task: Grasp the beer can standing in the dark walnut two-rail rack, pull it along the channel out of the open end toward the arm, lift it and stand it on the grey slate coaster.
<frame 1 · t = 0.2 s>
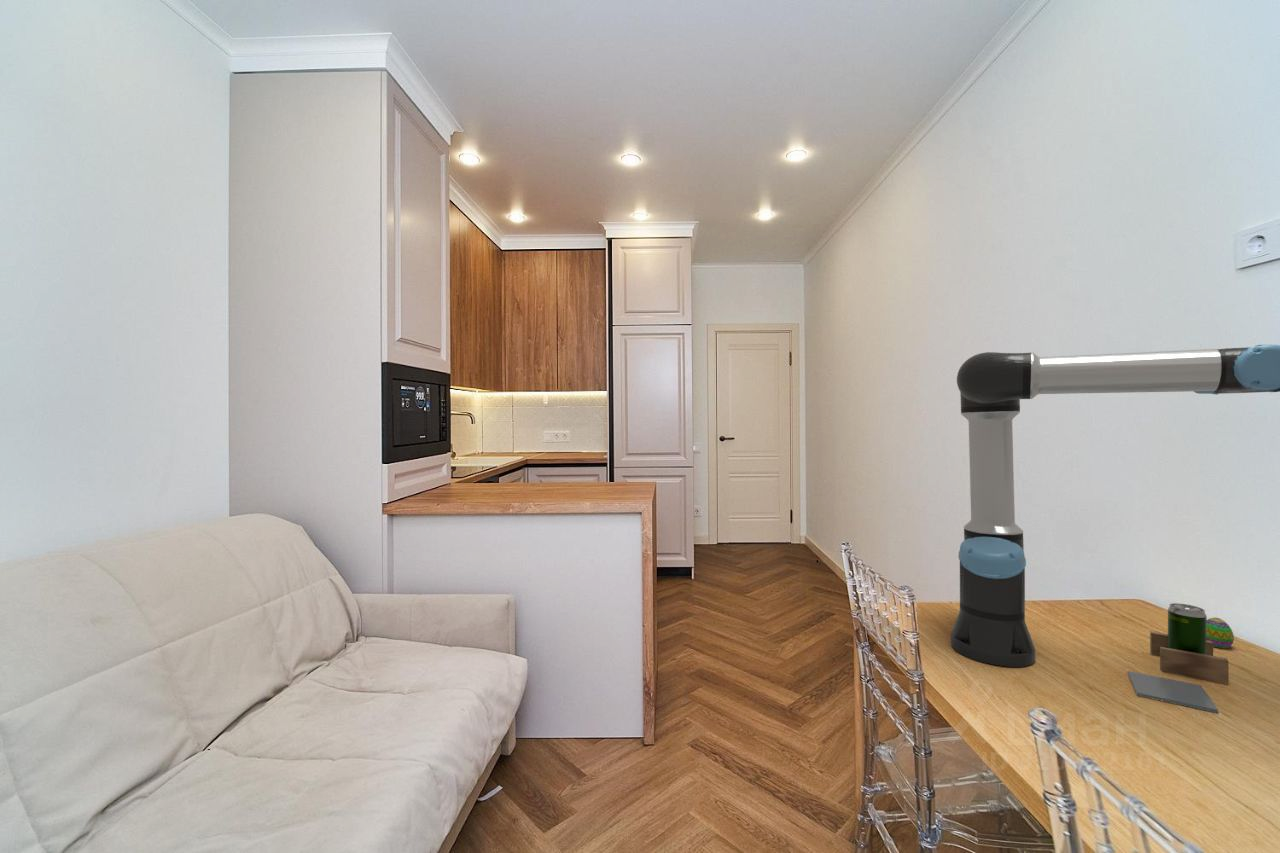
rack: (1186, 667, 105), on the table
beer can: (1186, 668, 105), on the table
egg: (1216, 646, 115), on the table
coaster: (1169, 692, 95), on the table
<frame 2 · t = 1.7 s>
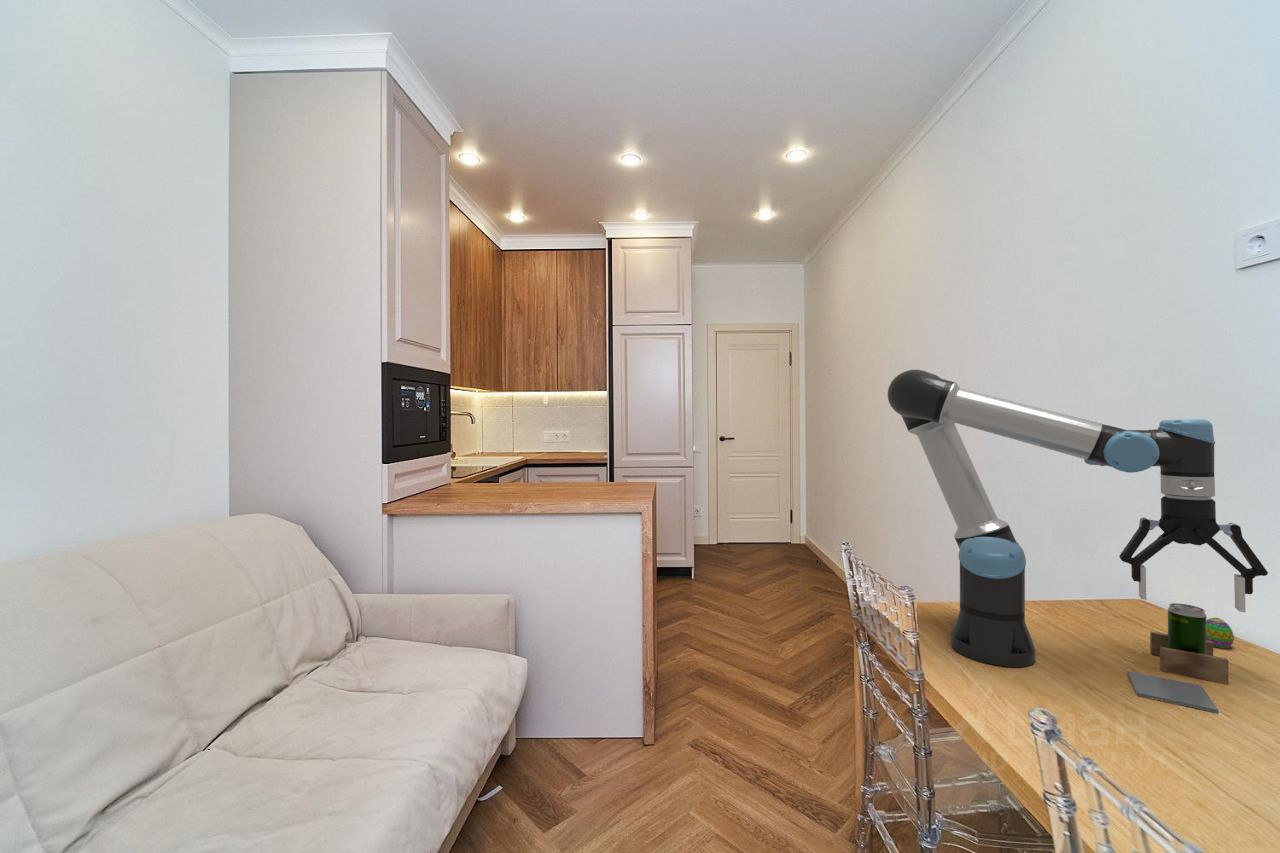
hand: (1189, 603, 104), 13 cm above the table, fingers open, 13 cm apart
nothing on the table moved.
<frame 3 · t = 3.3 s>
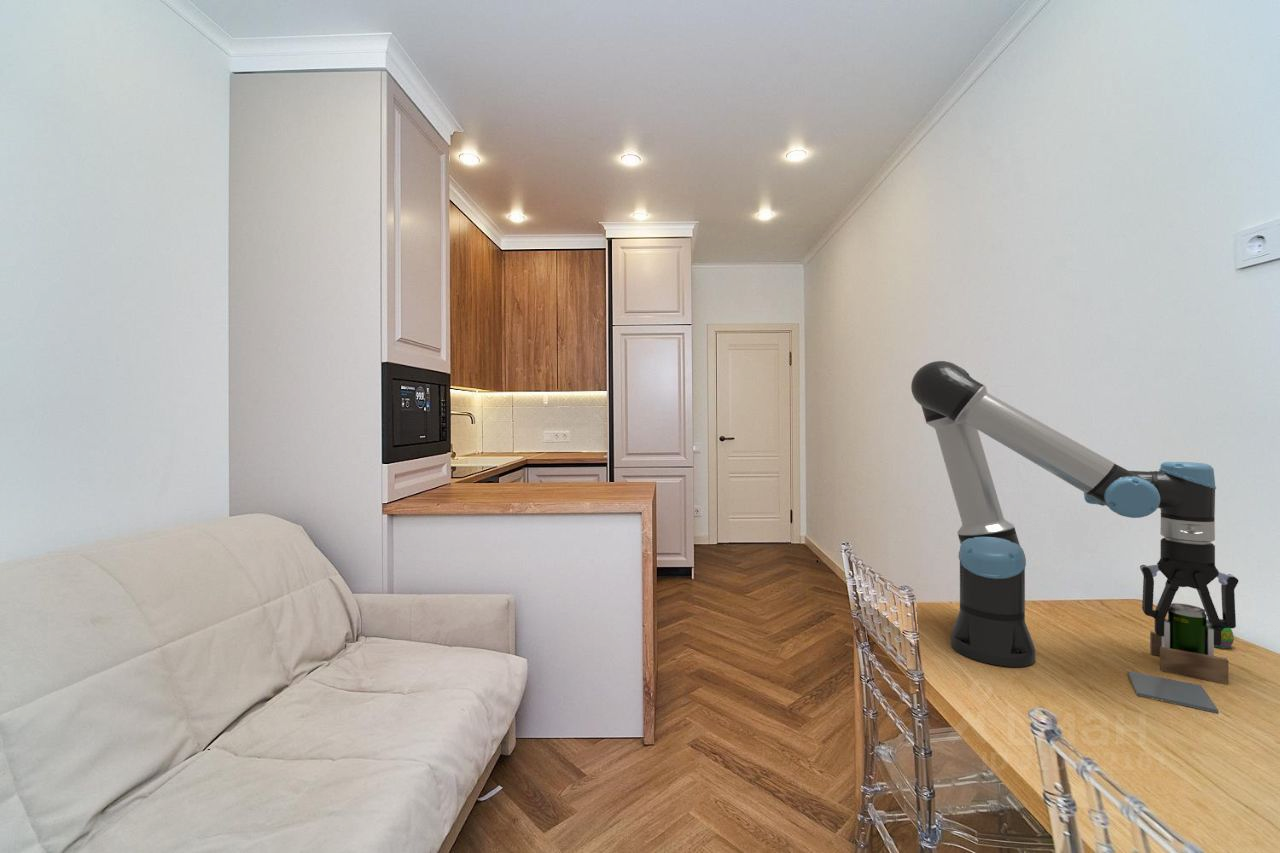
hand: (1186, 655, 105), 2 cm above the table, fingers closed on beer can, 5 cm apart
beer can: (1186, 668, 105), on the table, touching gripper
everything else where it was.
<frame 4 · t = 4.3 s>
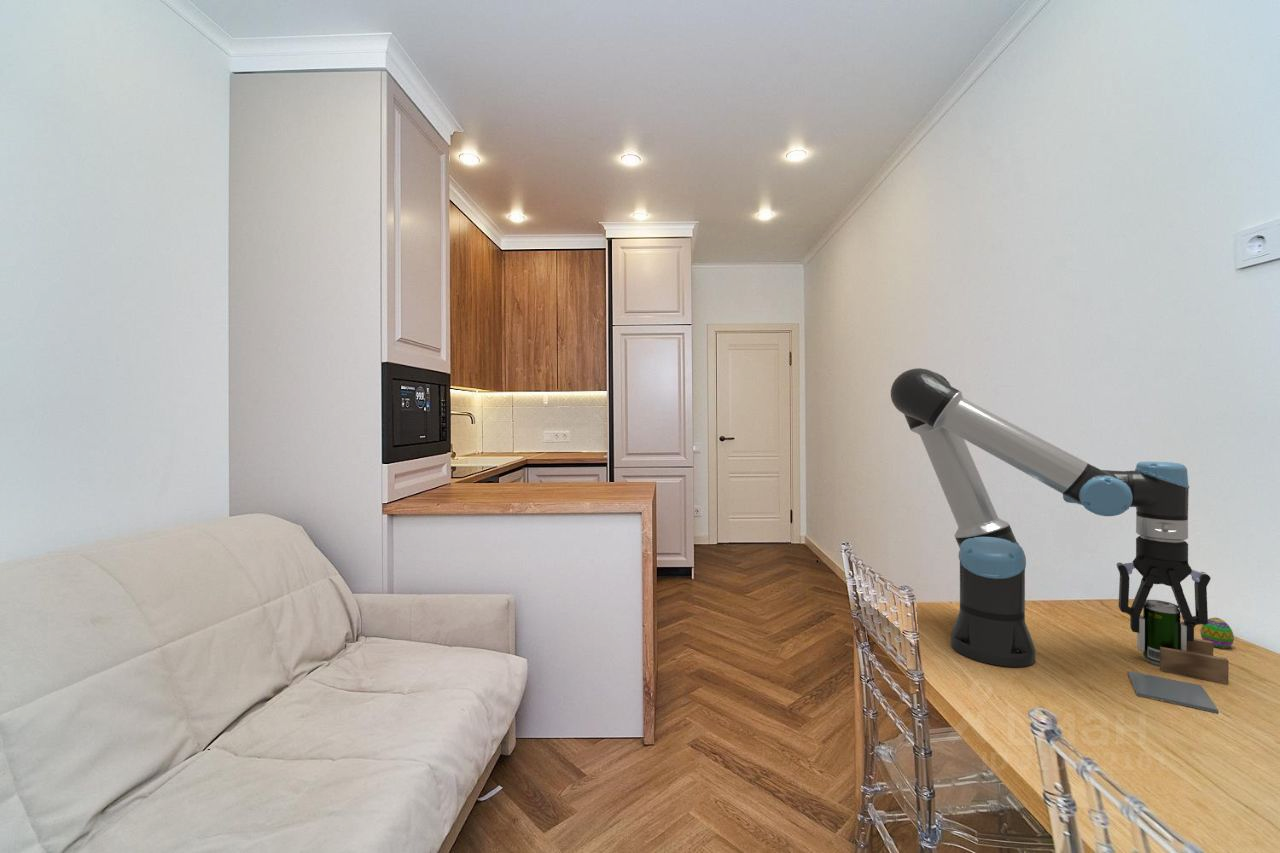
hand: (1161, 651, 107), 2 cm above the table, fingers closed on beer can, 5 cm apart
beer can: (1161, 663, 107), on the table, touching gripper
everything else where it was.
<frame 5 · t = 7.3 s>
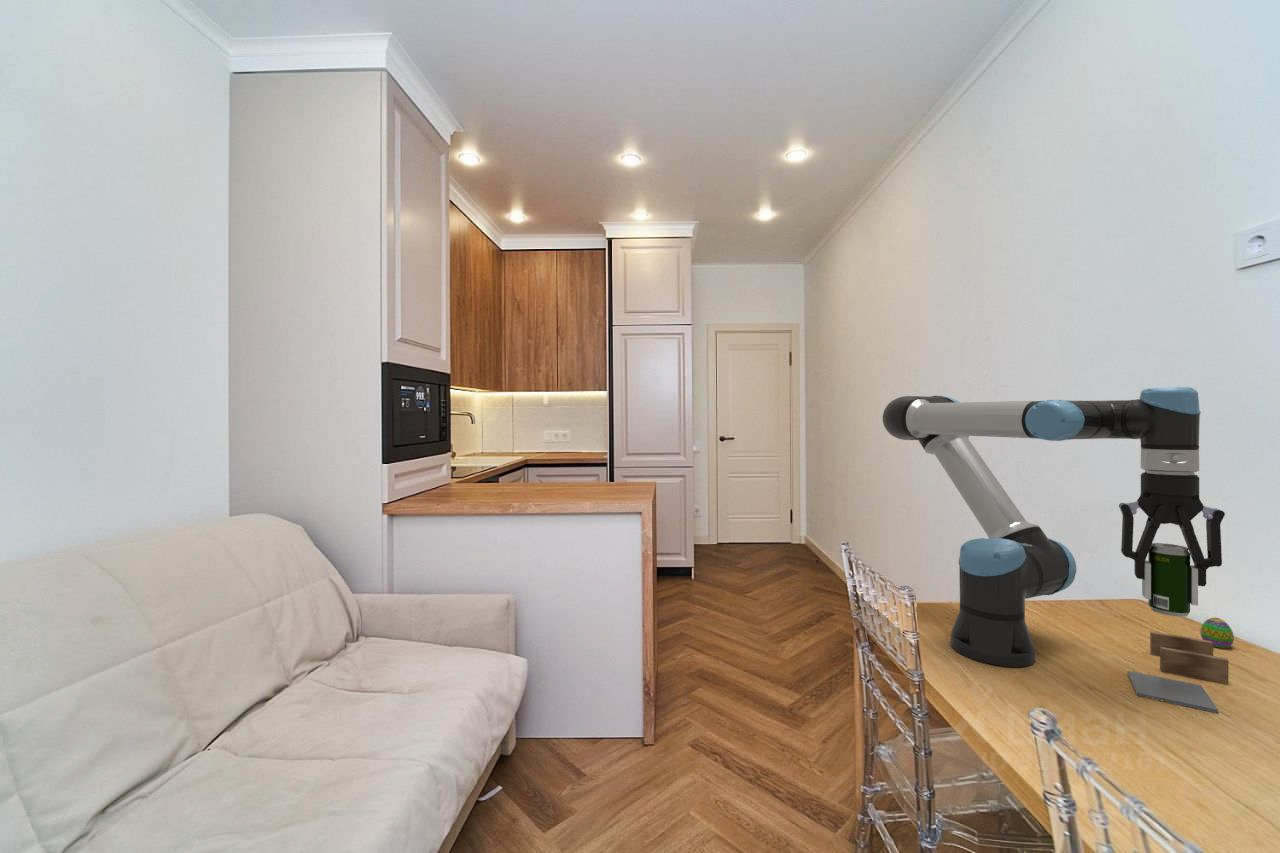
hand: (1169, 599, 96), 17 cm above the table, fingers closed on beer can, 5 cm apart
beer can: (1168, 612, 96), point 14 cm above the table, touching gripper
everything else where it was.
when the fingers open (4 cm above the table, at t = 9.9 s): beer can drops 1 cm, resting on coaster.
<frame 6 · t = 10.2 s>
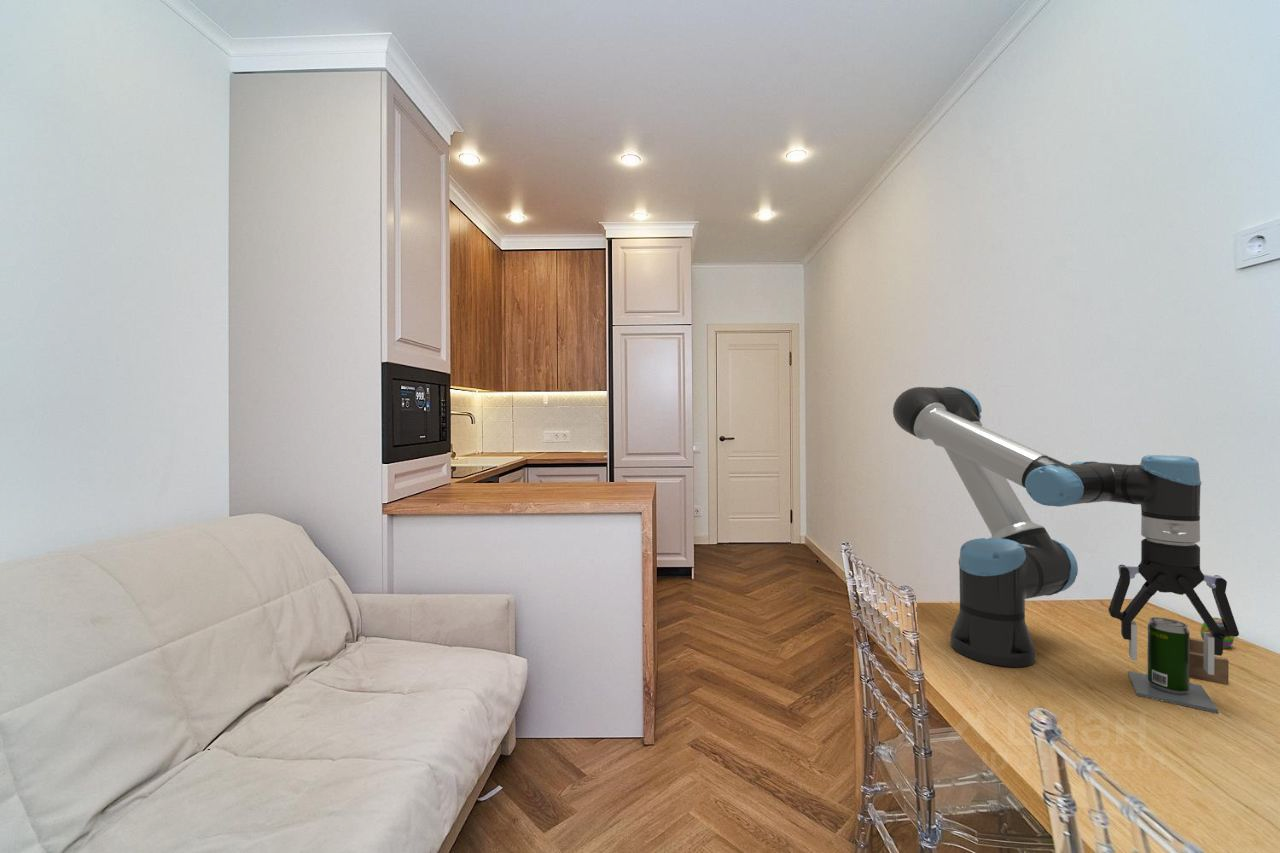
hand: (1169, 664, 95), 5 cm above the table, fingers open, 9 cm apart
beer can: (1167, 688, 96), resting on coaster
everything else where it was.
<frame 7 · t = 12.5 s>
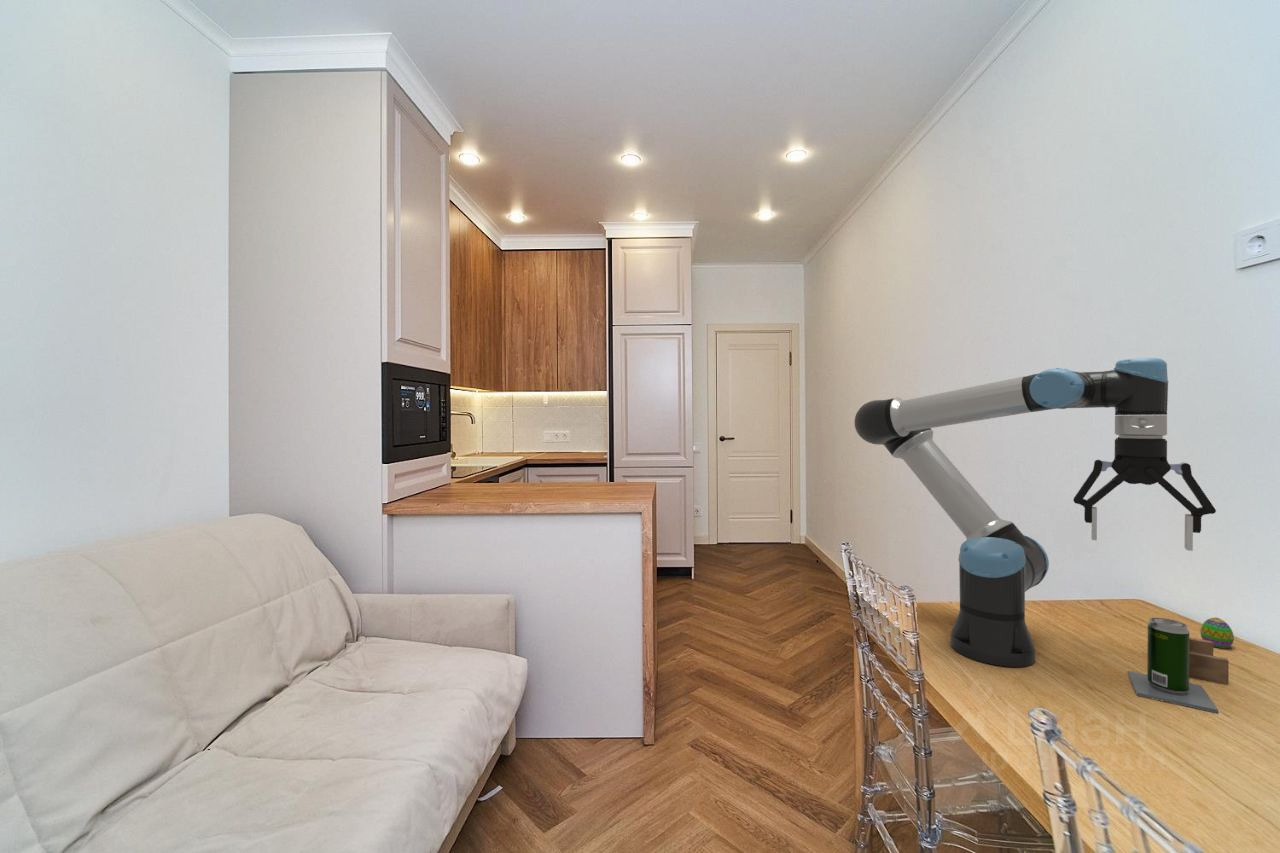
hand: (1139, 544, 104), 25 cm above the table, fingers open, 13 cm apart
nothing on the table moved.
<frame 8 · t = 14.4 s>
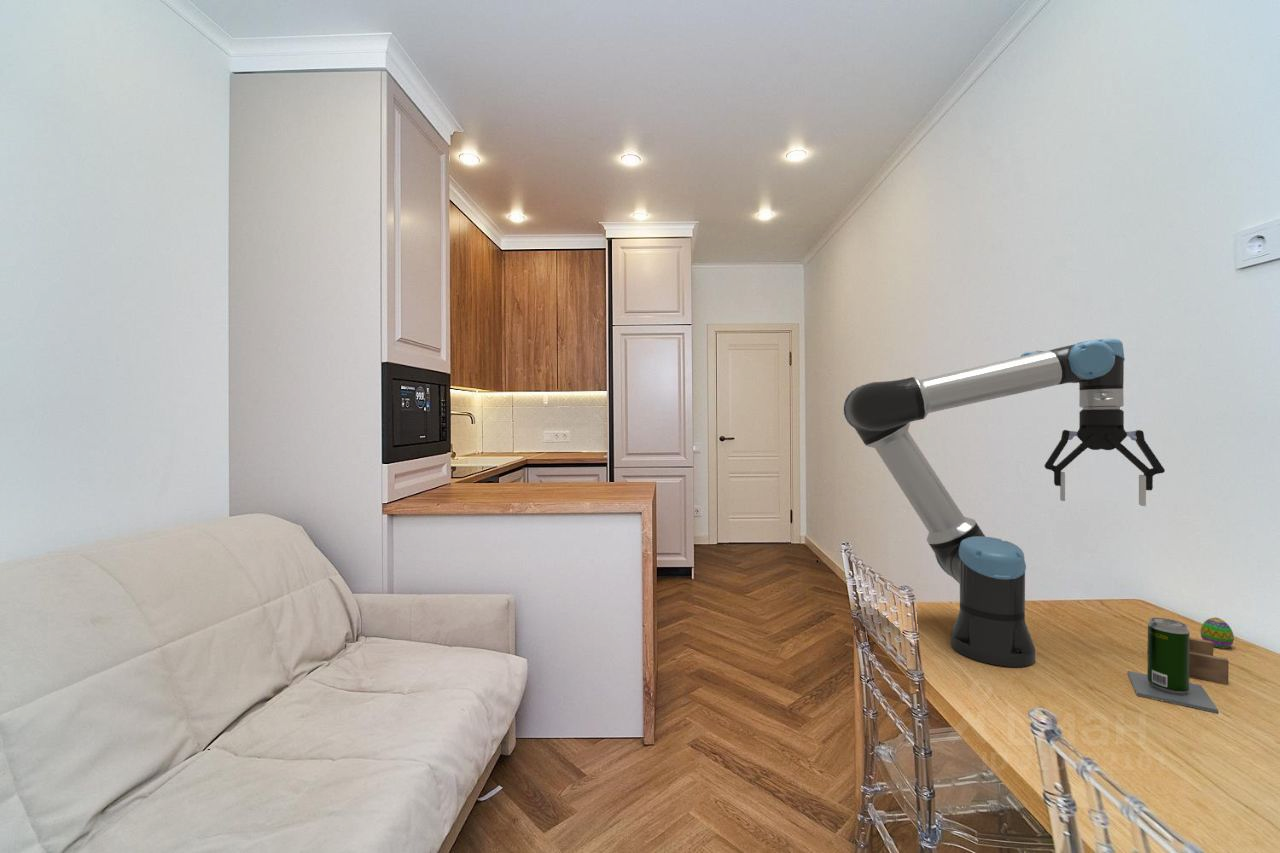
hand: (1101, 502, 119), 31 cm above the table, fingers open, 13 cm apart
nothing on the table moved.
at the end: beer can inside the target area on the coaster (0.3 cm from its centre), point 0.4 cm above the coaster's base; beer can tilted 0°; the gripper is holding nothing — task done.
